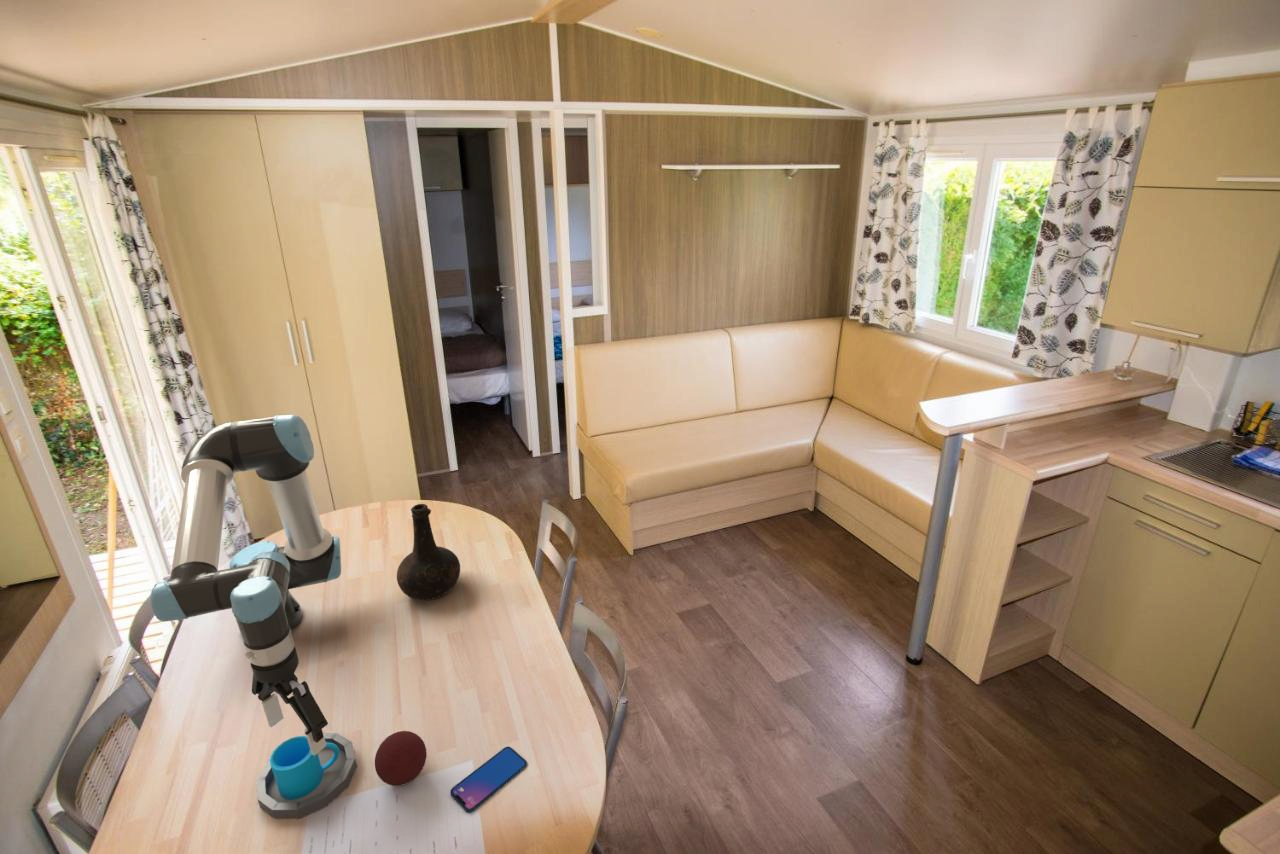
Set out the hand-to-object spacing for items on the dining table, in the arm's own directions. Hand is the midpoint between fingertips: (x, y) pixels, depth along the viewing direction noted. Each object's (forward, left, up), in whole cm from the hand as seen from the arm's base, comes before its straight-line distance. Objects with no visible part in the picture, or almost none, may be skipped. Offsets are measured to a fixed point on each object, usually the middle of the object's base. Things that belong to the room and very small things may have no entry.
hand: (297, 735), depth 130 cm
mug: (+1, 0, -11) cm, 11 cm away
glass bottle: (-25, +58, -12) cm, 64 cm away
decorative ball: (+17, +10, -12) cm, 23 cm away
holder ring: (0, 0, -11) cm, 11 cm away
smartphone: (+33, +18, -12) cm, 40 cm away
